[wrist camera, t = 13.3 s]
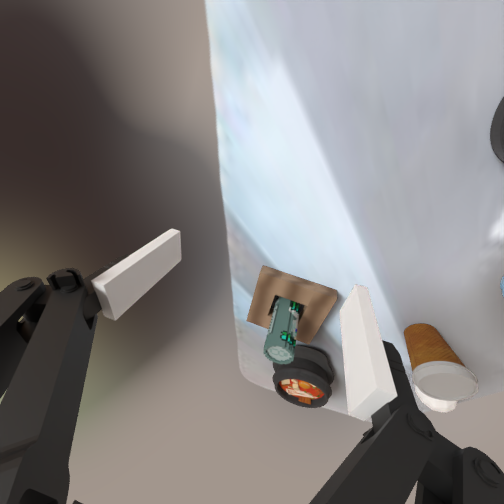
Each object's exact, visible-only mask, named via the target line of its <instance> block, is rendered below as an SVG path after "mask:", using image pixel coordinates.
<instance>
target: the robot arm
mask: <svg viewBox="0 0 504 504" xmlns="http://www.w3.org/2000/svg"><path fill="white" fill-rule="evenodd" d="M490 137H491V144H492V147H493V150H494V152H495V153H496V155H497V156H498V157H499V158H500V159H501V160H502V161H503V162H504V97H503V99H502V100H501V102H500V104H499V106H498V108H497V110H496V112H495V115H494V118H493V121H492V125H491V134H490ZM180 261H181V241H180V231H178V230H174V229H170V230H168V231H167V232H165V233H164V234H162V235H161V236H159V237H158V238H156V239H155V240H153V241H152V242H150V243H148V244H147V245H145V246H144V247H142V248H141V249H139V250H138V251H136V252H134V253H133V254H131V255H124V256H121V257H118V258H117V259H115V260H114V261H112V262H111V263H109V264H107V265H105V267H103V268H101V269H99V270H97V271H96V272H94V273H93V274H91V275H89V276H88V277H86V278H85V279H83V278H82V275H81V273H80V271H79V270H77V269H74V268H66V269H62V270H58V271H56V272H54V273H52V274H50V275H49V276H48V277H47V281H48V282H49V284H50V285H44V283H43V282H42V280H41V279H40V278H38V277H27V278H23V279H19V280H17V281H15V282H13V283H11V284H10V285H8V286H7V287H6V288H5V289H4V290H3V291H1V292H0V398H1V397H2V395H3V394H4V393H5V391H6V390H7V391H6V393H5V395H4V398H3V400H2V402H1V404H0V504H66V501H67V496H68V490H69V482H70V475H69V468H68V462H69V456H70V451H71V446H72V441H73V436H74V432H75V426H76V422H77V417H78V412H79V407H80V402H81V397H82V392H83V387H84V382H85V377H86V372H87V368H88V363H89V358H90V353H91V348H92V343H93V338H94V332H95V328H96V323H97V313H98V312H99V311H100V310H101V309H102V311H103V314H104V316H105V317H108V318H110V319H113V320H116V319H118V318H119V316H121V315H122V314H123V313H124V312H125V311H126V310H127V309H128V308H129V307H131V306H132V305H133V304H134V303H135V302H136V301H137V300H138V299H139V298H140V297H141V296H143V295H144V294H145V293H146V292H147V291H148V290H149V289H150V288H151V287H152V286H154V285H155V284H156V283H157V282H158V281H159V280H160V279H161V278H162V277H163V276H164V275H165V274H167V273H168V272H169V271H170V270H171V269H172V268H173V267H174V266H175V265H176V264H177V263H178V262H180ZM500 287H501V290H502V295H503V297H504V276H503V277H502V279H501V283H500ZM339 312H340V324H341V336H342V347H343V359H344V370H345V382H346V393H347V405H348V415H350V416H353V417H355V418H358V419H360V420H363V421H366V420H368V419H369V418H370V417H371V418H372V424H373V427H372V428H371V429H369V430H368V431H367V432H365V433H364V434H363V436H364V437H363V438H362V439H361V441H360V442H359V443H358V444H357V446H356V447H355V448H354V449H353V451H352V452H351V453H350V454H349V455H348V457H347V458H346V459H345V460H344V462H343V463H342V464H341V465H340V467H339V468H338V469H337V470H336V471H335V472H334V474H333V475H332V476H331V477H330V479H329V480H328V481H327V482H326V484H325V485H324V486H323V487H322V488H321V490H320V491H319V492H318V493H317V495H316V496H315V497H314V498H313V500H312V501H311V502H310V503H309V504H405V502H406V500H407V499H408V497H409V495H410V493H411V491H412V489H413V487H414V485H415V483H416V481H418V482H417V490H416V497H415V504H504V473H503V472H502V471H501V469H500V468H499V467H498V466H497V465H496V463H495V462H494V461H493V460H491V459H490V458H489V457H488V456H487V455H486V454H485V453H483V452H481V451H480V450H478V449H476V448H473V447H467V448H464V449H461V448H459V447H458V446H456V445H455V444H453V443H452V442H450V441H449V440H448V439H446V438H445V437H443V436H442V435H440V434H439V433H438V432H436V431H435V429H434V427H433V425H432V423H431V421H430V420H429V419H428V418H427V417H426V416H425V414H424V413H422V412H421V411H420V410H419V409H418V407H417V404H416V401H415V398H414V395H413V392H412V389H411V386H410V383H409V380H408V377H407V375H406V374H405V373H406V372H405V369H404V366H403V363H402V360H401V357H400V354H399V352H398V351H397V350H396V348H395V347H394V345H393V344H392V343H389V342H386V341H383V340H382V338H381V335H380V331H379V327H378V324H377V320H376V317H375V313H374V309H373V306H372V302H371V299H370V295H369V291H368V288H367V287H364V286H360V285H357V284H355V286H354V288H353V289H352V291H351V293H350V294H349V296H348V298H347V299H346V301H345V303H344V305H343V306H342V308H341V310H340V311H339ZM22 316H23V317H24V318H23V319H22V320H21V321H20V322H18V320H19V319H20V318H21V317H22ZM7 388H8V389H7ZM73 504H82V503H80V502H78V501H76V500H75V501H74V502H73Z"/></svg>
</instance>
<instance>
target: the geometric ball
mask: <svg viewBox="0 0 504 504" xmlns="http://www.w3.org/2000/svg"><path fill="white" fill-rule="evenodd" d="M414 385H415V384H414ZM415 391H416V394H417V396H418V397H419V398H420V400H421V401H422V402H423V403H424V404H425V405H427V406H428V407H429V408H430V409H432V410H435V411H439V412H443V413H445V412H449V411H451V410H454V409H455V407H456V405H457V401H445V400H438V399H434V398H431V397H429V396H427V395H425V394H423V393H422V392H421V391H420V390H419V388H418V387H417V386H416V385H415Z"/></svg>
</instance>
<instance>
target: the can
mask: <svg viewBox="0 0 504 504" xmlns="http://www.w3.org/2000/svg"><path fill="white" fill-rule="evenodd" d="M299 310H300V303H297V302H294V301H292V300H289V299H286V298H283V297H280V296H278V298H277V299H276V303H275V307H274V311H273V315H272V319H271V322H270V326H269V330H268V334H267V338H266V341H265V345H264V354H266V355H265V357H267V358H268V359H269V360H271V361H273V362H275V363H278V364H289V363H291V361H293V359H294V352H295V344H296V335H297V327H298V319H299Z"/></svg>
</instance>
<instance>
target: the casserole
mask: <svg viewBox="0 0 504 504" xmlns="http://www.w3.org/2000/svg"><path fill="white" fill-rule="evenodd" d="M273 368H274V370H275V373H274V375H273V382H274V384H275V389H276V391H277V393H278V394H279V395H280V396H281V397H282V398H284V399H285V400H287V401H288V402H290V403H293V404H296V405H298V406H302V407H308V408H317V407H321V406H324V405H325V404H326V403H327V402H328V399H329V398H330V396H331V394H332V390H331V387H330V384H331V383H332V382H333V380H334V374H333V371H332V370H331V368H330V366H329V363H328V359H327V357H326V356H325V355H324V354H323V353H321V352H320V351H317V350H315V349H312V348H309V347H305V346H297V345H295V352H294V359H293V361H291V363H289V364H278V363H275V362H273Z"/></svg>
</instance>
